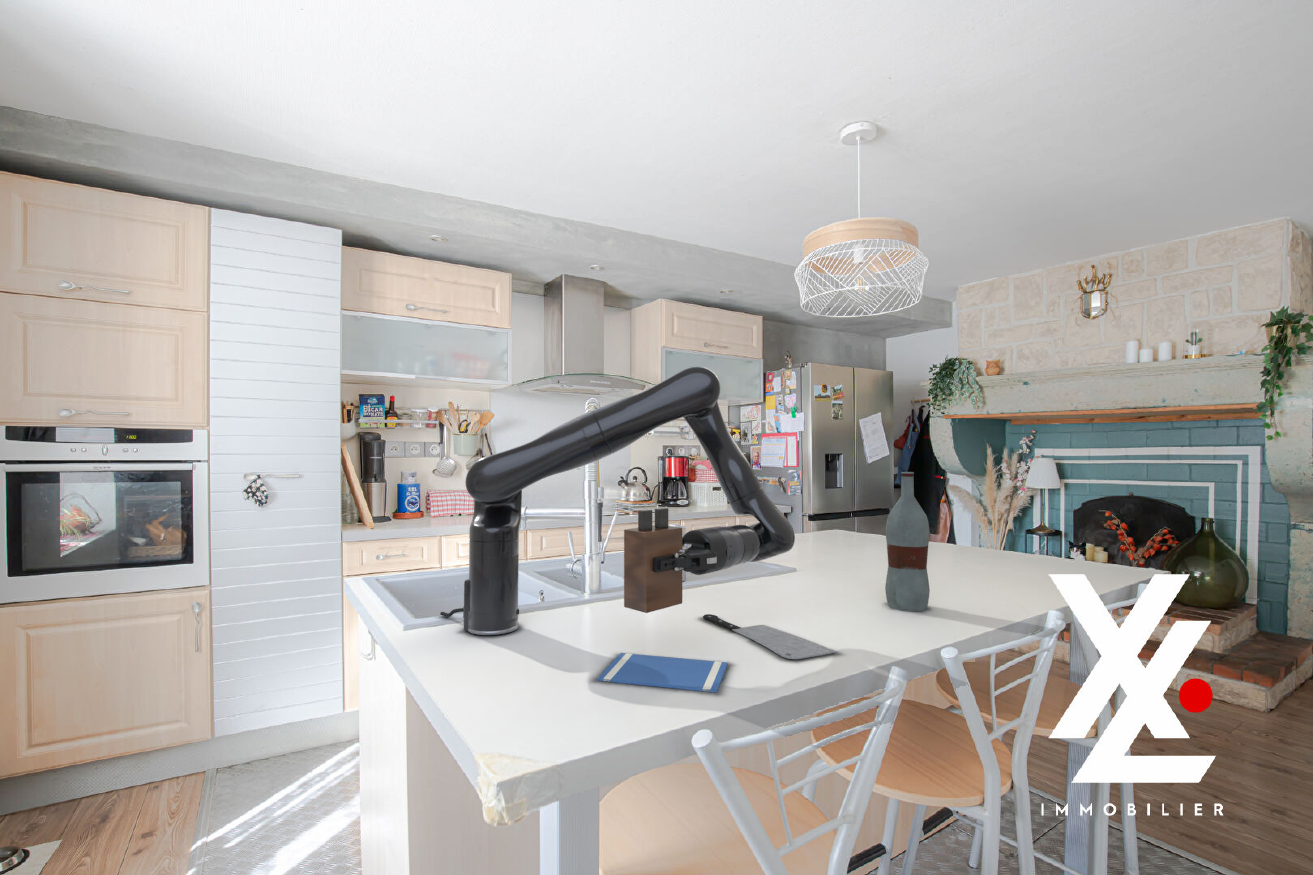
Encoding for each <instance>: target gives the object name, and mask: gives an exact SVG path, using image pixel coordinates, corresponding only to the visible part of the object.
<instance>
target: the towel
mask: <svg viewBox="0 0 1313 875" xmlns="http://www.w3.org/2000/svg"><path fill="white" fill-rule="evenodd" d="M727 668H728V661H720V660H719V661H717V660H705V659H694V658H682V657H674V656H673V657H672V656H659V655H649V654H648V655H647V654H639V653H628V652H620V653H619V654H618V655H617V657H616V658H615V659H614V660H612V662H611V663H610V664H609V665H608V666H607V667H606V668H605V670H604V671H603V672H602V673H601V674H600V675H599V676H598V677H597V681H598V682H607V683H617V684H628V685H636V686H637V685H638V686H648V687H657V688H666V689H667V688H668V689H677V690H687V691H695V692H696V691H697V692H707V693H716V694H717V693H718V691H719V688H720V686H721V684H722V680H723V677H724V675H725V672H726V670H727Z"/></svg>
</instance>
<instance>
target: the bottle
mask: <svg viewBox="0 0 1313 875" xmlns="http://www.w3.org/2000/svg"><path fill="white" fill-rule="evenodd" d="M900 474H901V480H900V481H901V485H900V497H899V498H898V500H897V502H896V503H895V504H894V506H893V508H892V509H891V510H890V512H888V514H887V518H886V524H885V531H884V532H885V540H886V552H887V571H886V578H885V588H884V590H885V597H886V603H887V606H888V607H889V608H891V609H894V610H899V611H903V612H922V611H926V610H927V609H928V605H929V600H930V590H931V589H930V580H929V574H928V573H929V572H928V556H929V544H930V535H931V532H930V524H929V519H928V516H927V513H925V511H924V510H923V508H922V506H921V505H920V503H919V502H918V500H917V498H916V497H915V488H914V487H915V485H914V484H915V482H914V479H915V478H914V477H915V476H914V474H915V472H913V471H902V472H900Z"/></svg>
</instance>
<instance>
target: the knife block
mask: <svg viewBox="0 0 1313 875" xmlns="http://www.w3.org/2000/svg"><path fill="white" fill-rule="evenodd" d="M682 537H683V527H681V526H673V525H669V508H668V507H659V508H654V525H653V509H641V510H639V509H638V510H637V527H633V528H625V529H624V530H623V607H624V608H626V609H630V610H634V611H638V612H641V613H644V614H649V613H653V612H656V611H660V610H664V609H667V608H671V607H674V606H679V605H681V604H683V570H678V571H675V570H668V571H663V572H658V573H657V572H654V571H653V558H654V557H659V556H665V555H673V554H674V553H678V552H679V551H680V549H682Z"/></svg>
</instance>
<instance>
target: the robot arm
mask: <svg viewBox="0 0 1313 875" xmlns="http://www.w3.org/2000/svg"><path fill="white" fill-rule="evenodd" d="M720 394H721V383H720V379H719V377H718V376H717V374H716V373H715V372H713V370H711V369H709V368H708V367H705V366H701V365H694V366H688V367H685V368H683V369H681V370H680V371H678V372H676V373H675V374H672V375H671V376H670V377H668V378H666V379H664V380H662V381H661V382H659V383H657V384H655V385H653V386H651V387H650V388H648V389H646V390H644V391H641V392H639V393H636V394H633V395H629V396H627V397H624V398H620V399H618V400H616V401H612V402H610V403H607V404H605V405H602V406H600V407H597V408H595V409H592V410H590V411H588V412H585V413H583V414H580V415H578V416H576V417H574V418H572V419H570V420H568V421H566V422H564V423H562V424H560V425H558V426H556V427H554V428H552V429H550V430H549V431H547V432H545V433H544V434H541V435H540V436H538V437H537V438H535V439H533V440H531V441H529V442H526V443H524V444H521V445H518V446H516V447H512V448H510V449H507V450H504V451H501V452H498V453H494V454H490V455H486V456H482V457H481V458H479V459H477V460H476V461H475V462H473V463H472V465H471V466H470V467H469V469H468V471H467V473H466V476H465V481H464V482H465V488H466V491H467V494H468V495H469V496H470V497H471V498H472V499H473V514H472V519H471V522H470V525H469V530H468V531H469V532H468V533H469V537H468V539H469V540H468V544H469V545H468V548H469V549H468V558H469V559H468V578H467V579H465V580H464V582H463V607H460V608H454V609H452V610H450V611H449V612H445V611H440V613H439V615H440V616H442V617H445V618H450V617H452V616H453V615H454V614H456V613H463V614H462V618H463V632H468V633H470V634H473V635H478V636H498V635H505V634H509V633H512V632H515V631H516V630H518V629H519V616H520V609H519V572H520V571H519V568H520V567H519V558H520V557H519V556H520V554H519V553H520V550H519V549H520V526H521V521H522V504H523V501H522V499H523V498H522V497H523V490H524V489H525V488H528V487H529V486H531V485H534V484H535V483H537V482H539V481H541V480H543V479H546V478H548V477H552V476H555V475H558V474H561V473H565V472H568V471H572V470H575V469H578V468H581V467H584V466H587V465H589V464H592V463H595V462H597V461H600V460H602V459H603V458H607V457H609V456H611V455H612V454H615V453H617V452H619V451H622V450H623V449H625V448H626V447H628V446H630V445H631V444H633V443H635V442H637V441H638V440H640V439H641V438H643V437H645V436H646V435H648V433H650V432H652V431H654V430H656V429H657V428H659V427H661V426H664V425H665V424H669V423H670V422H671V423H672V422H674V421H676V420H677V421H678V420H680V419H682V418H683V419H684V421H685V422H686V423H687V425H688V426H689V427H690V429H691V430H692V432H693V434H694V435H695V437H696V439H697V440H698V442H699V444H700V445H701V448H702V449H703V451H704V453H705V455H706V457H707V459H708V462H709V464H710V466H711V468H712V470H713V473H714V475H715V477H716V479H717V481H718V483H719V485H720V487H721V490H722V492H723V494H724V496H725V497H726V500H727V502H728V503H729V506H730V508H731V509H732V511H733V513H734V514H735V515H737V516H752V517H754V518H755V519H756V520H757V521H758V522H755V523H753V524H750V525H746V524H734V525H727V526H711V527H704V528H698V529H691V530H689V531H687V532H686V533H685V534H683V535H682V549H680V551H679V552H678V553H674V554H673V555H665V556H659V557H654V558H653V571H654V572H657V573H658V572H663V571H668V570H675V571H678V570H682V571H684V572H686V573H690V574H693V575H695V576H701V575H706V574H707V575H708V574H711V573H715V572H718V571H724V570H727V569H730V568H733V567H734V566H739V565H743V564H747V563H748V564H749V563H750V564H751V563H757V562H761V561H765V560H768V559H771V558H774V557H776V556H779V555H782V554H786V553H788V552H790V551H791V550H792V549H793V548H794V546H795V543H796V542H795V541H796V535H795V531H794V528H793V526H792V524H791V522H790V520H789V519H788V518H787V517H786V516H785V515H784V513H783V512H782V511H781V510H780V509H779V508H778V507H777V506H776V505H775V503H774V502H773V501H772V499H771V498H770V497H769V496H768V495H767V494H766V492H765V490H764V488H763V487H762V484H761V483H760V480H759V478H758V476H757V475H756V472H755V470H754V469H753V467H752V465H751V463H750V461H749V459H748V458H747V457H746V455H745V454H744V452H743V451H742V449H741V448H740V446H739V445H738V444H737V442H736V440H735V439H734V437H733V436H732V434H731V432H730V430H729V428H728V426H727V424H726V422H725V420H724V417H723V415H722V412H721V408H720V407H719V403H718V401H719V398H720Z"/></svg>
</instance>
